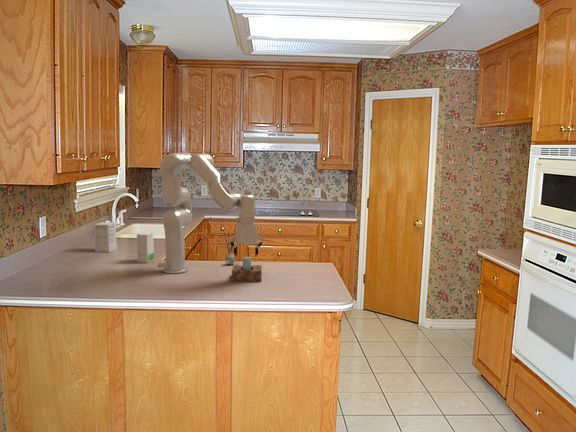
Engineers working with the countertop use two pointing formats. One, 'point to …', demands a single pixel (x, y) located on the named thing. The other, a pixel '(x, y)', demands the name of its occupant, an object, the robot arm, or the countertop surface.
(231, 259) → the reed diffuser
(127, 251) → the countertop surface
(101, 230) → the supplement box
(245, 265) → the peg
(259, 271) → the socket block
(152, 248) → the skincare box
